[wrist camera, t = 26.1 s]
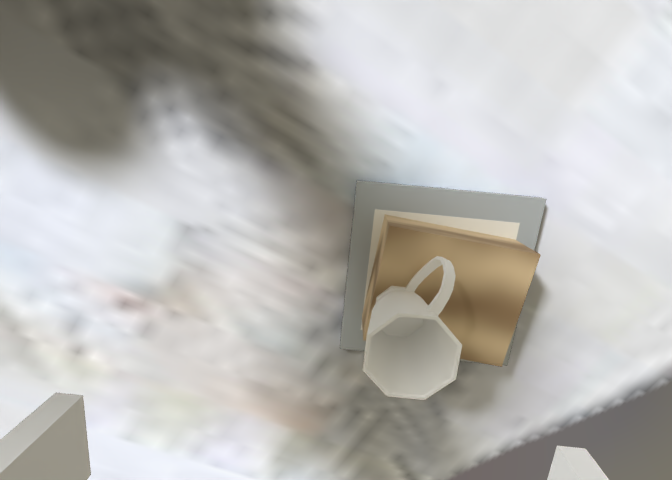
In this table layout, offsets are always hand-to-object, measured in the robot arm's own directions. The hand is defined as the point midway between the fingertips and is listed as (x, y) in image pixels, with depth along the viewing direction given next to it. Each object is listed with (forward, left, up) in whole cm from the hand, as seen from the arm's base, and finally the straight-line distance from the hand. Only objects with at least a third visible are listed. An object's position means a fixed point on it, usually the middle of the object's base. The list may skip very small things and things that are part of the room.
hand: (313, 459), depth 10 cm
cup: (+4, +6, -23) cm, 24 cm away
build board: (+4, +10, -29) cm, 31 cm away
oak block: (+4, +10, -27) cm, 29 cm away
